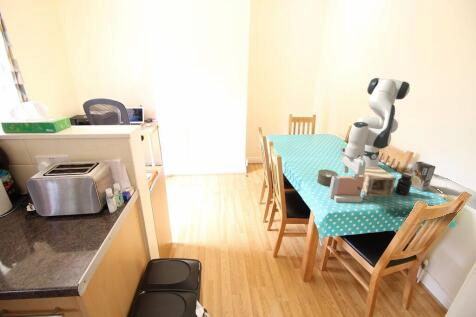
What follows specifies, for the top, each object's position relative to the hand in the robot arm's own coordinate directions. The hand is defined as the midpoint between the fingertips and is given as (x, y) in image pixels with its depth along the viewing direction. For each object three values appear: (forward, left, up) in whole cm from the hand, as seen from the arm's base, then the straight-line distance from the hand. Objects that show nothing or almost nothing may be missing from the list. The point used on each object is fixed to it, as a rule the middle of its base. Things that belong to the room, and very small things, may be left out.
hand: (349, 175), depth 128 cm
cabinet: (-8, +20, -14) cm, 26 cm away
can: (-20, -4, -14) cm, 25 cm away
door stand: (0, 0, -14) cm, 14 cm away
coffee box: (-14, +54, -14) cm, 57 cm away
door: (0, 0, -14) cm, 14 cm away
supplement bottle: (-6, +38, -14) cm, 41 cm away
